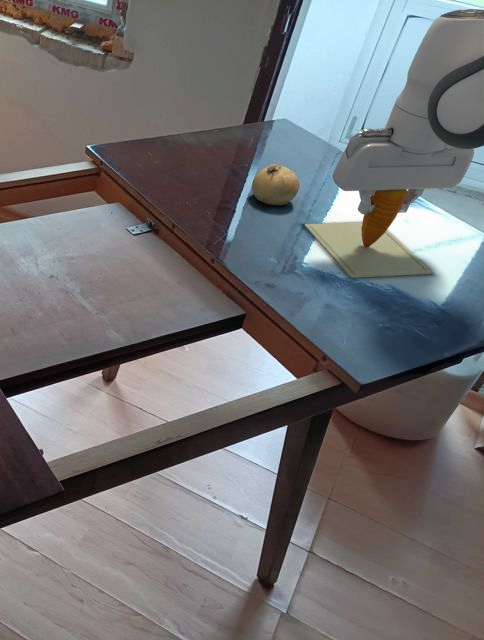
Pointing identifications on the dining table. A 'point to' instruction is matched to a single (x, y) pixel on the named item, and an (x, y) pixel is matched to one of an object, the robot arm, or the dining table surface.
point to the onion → (275, 185)
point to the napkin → (366, 251)
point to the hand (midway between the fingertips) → (381, 211)
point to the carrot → (381, 214)
